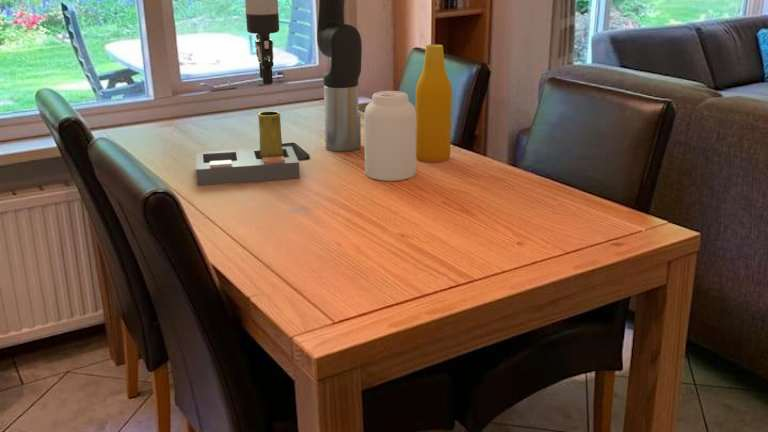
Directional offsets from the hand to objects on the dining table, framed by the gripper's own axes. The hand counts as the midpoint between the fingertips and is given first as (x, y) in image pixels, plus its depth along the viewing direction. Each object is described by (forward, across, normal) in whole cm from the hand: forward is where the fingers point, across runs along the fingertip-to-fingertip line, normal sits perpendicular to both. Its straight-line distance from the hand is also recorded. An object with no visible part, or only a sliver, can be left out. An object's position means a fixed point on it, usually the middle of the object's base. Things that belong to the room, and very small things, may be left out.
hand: (266, 80), depth 184 cm
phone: (+23, +14, -6) cm, 27 cm away
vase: (+22, 0, 0) cm, 22 cm away
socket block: (+22, -2, +6) cm, 23 cm away
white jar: (+22, -11, -28) cm, 37 cm away
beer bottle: (+22, 0, -42) cm, 47 cm away
